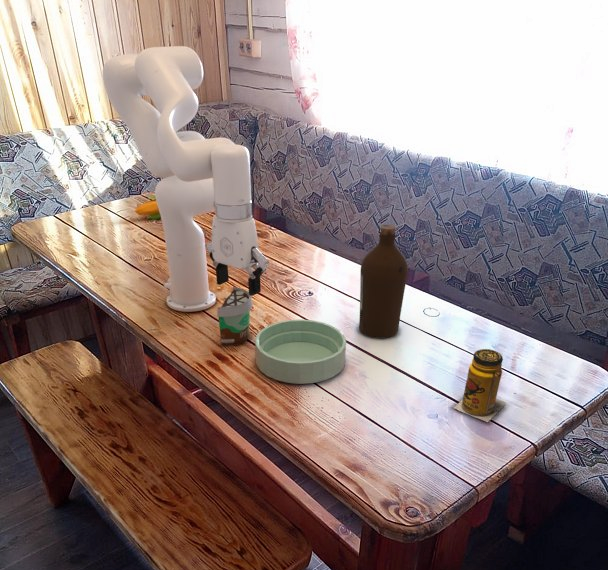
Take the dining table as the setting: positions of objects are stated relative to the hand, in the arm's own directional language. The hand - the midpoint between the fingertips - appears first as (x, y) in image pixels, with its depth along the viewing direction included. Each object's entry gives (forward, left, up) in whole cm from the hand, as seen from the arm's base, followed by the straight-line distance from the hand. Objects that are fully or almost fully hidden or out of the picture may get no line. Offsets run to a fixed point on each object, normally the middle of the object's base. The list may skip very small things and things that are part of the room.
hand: (238, 288), depth 131 cm
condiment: (+56, +9, -13) cm, 58 cm away
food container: (0, 0, -13) cm, 13 cm away
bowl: (+18, 0, -13) cm, 22 cm away
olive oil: (+23, +24, -13) cm, 35 cm away
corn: (-84, +49, -13) cm, 98 cm away
